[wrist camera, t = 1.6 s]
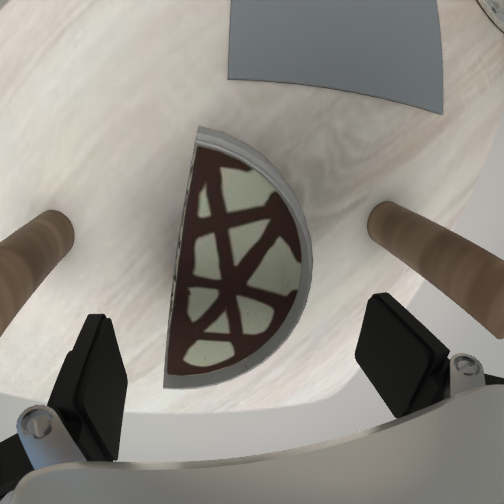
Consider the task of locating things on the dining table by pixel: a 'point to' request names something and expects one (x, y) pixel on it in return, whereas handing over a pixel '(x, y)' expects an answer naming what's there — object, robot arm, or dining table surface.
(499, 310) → the walnut post
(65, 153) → the dining table surface
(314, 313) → the dining table surface
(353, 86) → the charcoal mat
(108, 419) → the robot arm
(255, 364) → the food container
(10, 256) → the walnut post
